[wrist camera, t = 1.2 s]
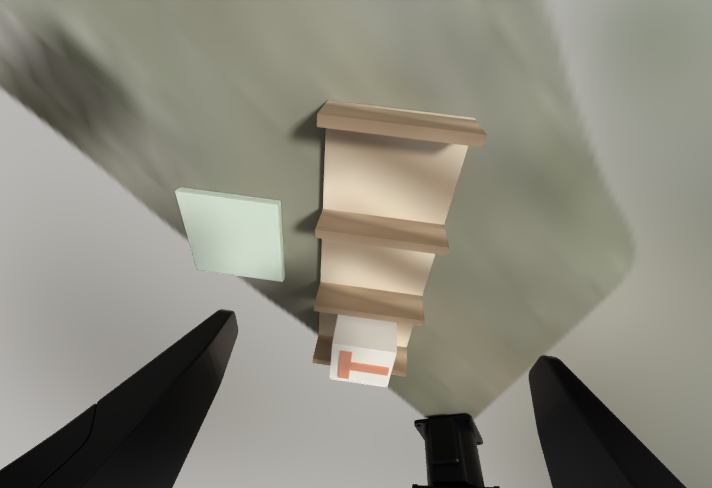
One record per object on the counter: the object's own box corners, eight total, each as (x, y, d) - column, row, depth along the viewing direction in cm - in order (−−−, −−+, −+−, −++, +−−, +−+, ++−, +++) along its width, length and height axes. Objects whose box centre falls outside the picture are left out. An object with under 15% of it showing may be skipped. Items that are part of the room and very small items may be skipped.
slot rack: (405, 346, 29) (405, 376, 27) (319, 334, 29) (312, 362, 27) (474, 117, 17) (486, 134, 15) (328, 100, 17) (317, 113, 15)
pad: (284, 276, 26) (282, 281, 25) (200, 264, 26) (196, 269, 25) (280, 200, 21) (277, 205, 21) (179, 187, 22) (174, 191, 21)
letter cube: (388, 339, 28) (387, 389, 24) (338, 332, 28) (329, 380, 24) (396, 304, 25) (396, 354, 22) (341, 296, 25) (331, 345, 22)
